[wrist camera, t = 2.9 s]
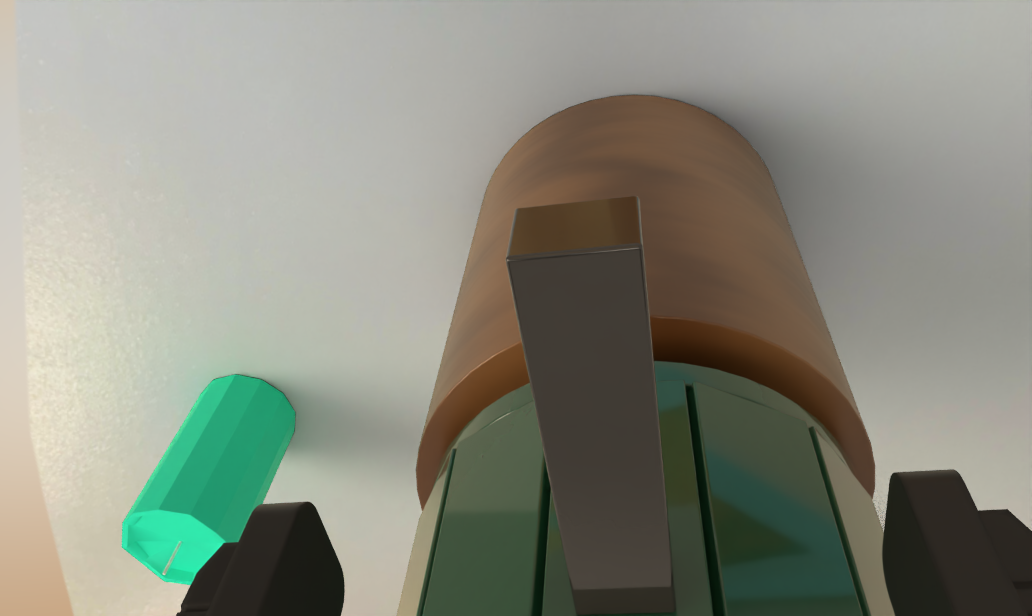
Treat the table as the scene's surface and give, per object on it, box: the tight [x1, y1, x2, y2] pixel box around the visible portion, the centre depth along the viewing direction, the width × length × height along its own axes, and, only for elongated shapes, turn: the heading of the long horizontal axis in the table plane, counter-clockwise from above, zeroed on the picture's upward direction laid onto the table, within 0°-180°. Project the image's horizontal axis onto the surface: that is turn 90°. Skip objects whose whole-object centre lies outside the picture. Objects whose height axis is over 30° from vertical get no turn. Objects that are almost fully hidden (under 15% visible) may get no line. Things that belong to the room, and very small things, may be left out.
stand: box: [416, 95, 875, 511], centre depth 35 cm, size 15×15×18 cm
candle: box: [122, 374, 295, 585], centre depth 47 cm, size 6×6×12 cm
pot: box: [396, 196, 895, 616], centre depth 21 cm, size 22×14×9 cm, turn 9°
